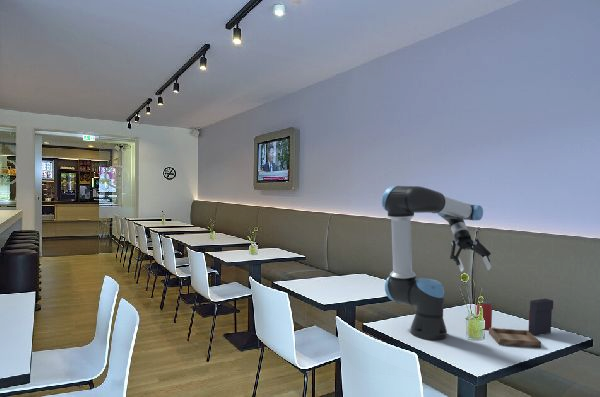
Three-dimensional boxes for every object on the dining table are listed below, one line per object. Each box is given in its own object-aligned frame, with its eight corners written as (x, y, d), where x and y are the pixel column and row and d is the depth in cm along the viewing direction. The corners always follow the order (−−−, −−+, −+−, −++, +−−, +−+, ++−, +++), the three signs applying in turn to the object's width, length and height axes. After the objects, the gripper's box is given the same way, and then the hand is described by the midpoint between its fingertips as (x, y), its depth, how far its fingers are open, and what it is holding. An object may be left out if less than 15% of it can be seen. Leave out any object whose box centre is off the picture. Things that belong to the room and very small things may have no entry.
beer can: (494, 330, 189) (494, 303, 189) (479, 329, 189) (480, 303, 189) (487, 325, 195) (488, 300, 195) (473, 324, 196) (474, 299, 195)
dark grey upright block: (543, 330, 190) (544, 297, 190) (552, 333, 186) (553, 300, 186) (527, 333, 185) (528, 300, 185) (536, 336, 182) (537, 302, 181)
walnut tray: (499, 344, 171) (499, 338, 170) (488, 333, 184) (489, 327, 184) (540, 348, 168) (541, 342, 168) (527, 336, 182) (527, 330, 182)
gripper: (481, 235, 217) (497, 271, 204) (435, 238, 215) (448, 275, 201) (486, 227, 211) (503, 264, 198) (440, 230, 209) (454, 267, 196)
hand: (476, 269), depth 200 cm, fingers open, 13 cm apart
